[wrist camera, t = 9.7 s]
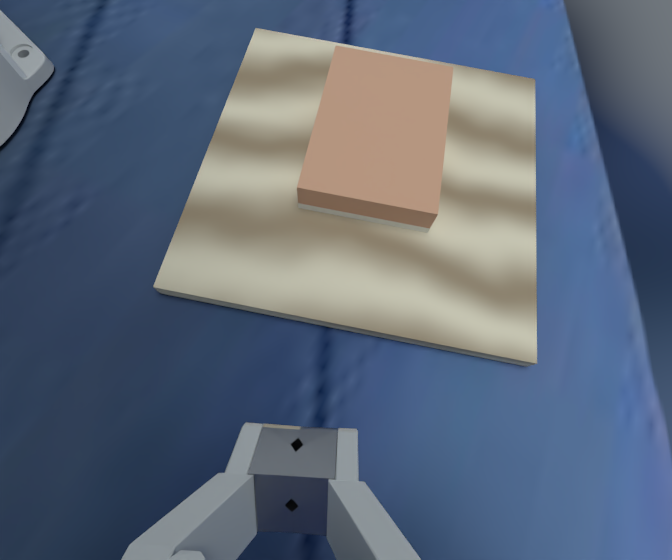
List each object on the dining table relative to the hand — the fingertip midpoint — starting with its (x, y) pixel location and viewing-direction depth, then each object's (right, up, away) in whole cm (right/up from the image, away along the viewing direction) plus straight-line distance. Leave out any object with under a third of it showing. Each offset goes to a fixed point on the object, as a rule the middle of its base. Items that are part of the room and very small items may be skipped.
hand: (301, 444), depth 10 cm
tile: (+3, +9, +14) cm, 17 cm away
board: (+4, +12, +18) cm, 22 cm away
